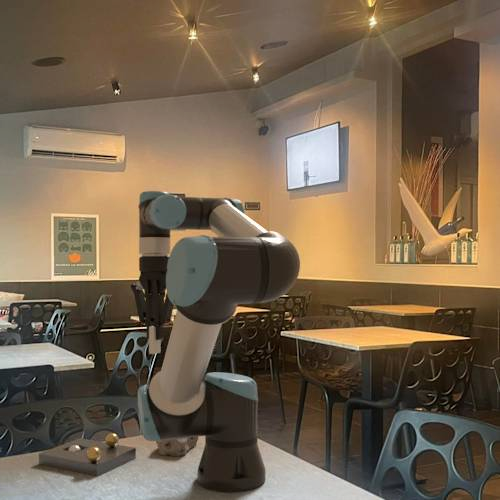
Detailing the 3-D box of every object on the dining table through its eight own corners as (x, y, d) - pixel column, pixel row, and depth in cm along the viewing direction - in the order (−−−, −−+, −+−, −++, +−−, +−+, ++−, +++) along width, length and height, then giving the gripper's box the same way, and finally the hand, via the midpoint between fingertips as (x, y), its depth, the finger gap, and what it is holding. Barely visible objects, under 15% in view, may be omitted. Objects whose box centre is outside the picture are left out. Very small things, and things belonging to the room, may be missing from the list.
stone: (201, 441, 164) (164, 442, 165) (199, 420, 163) (162, 421, 164) (193, 462, 151) (153, 463, 151) (192, 439, 150) (152, 440, 151)
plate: (135, 458, 150) (135, 447, 150) (97, 476, 138) (97, 465, 138) (79, 447, 158) (79, 438, 158) (38, 463, 146) (38, 453, 146)
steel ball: (86, 451, 151) (79, 440, 152) (76, 455, 148) (69, 444, 149) (78, 459, 152) (72, 448, 153) (69, 462, 149) (62, 452, 150)
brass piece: (103, 460, 141) (103, 446, 141) (94, 464, 138) (94, 450, 138) (93, 458, 143) (93, 444, 143) (83, 462, 140) (83, 448, 140)
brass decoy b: (121, 445, 152) (121, 432, 152) (112, 449, 149) (112, 435, 149) (111, 443, 154) (111, 430, 154) (102, 447, 151) (102, 434, 151)
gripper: (186, 255, 149) (186, 352, 148) (142, 255, 154) (142, 349, 154) (168, 255, 142) (168, 357, 141) (123, 255, 148) (123, 353, 147)
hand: (154, 352), depth 148 cm, fingers closed
